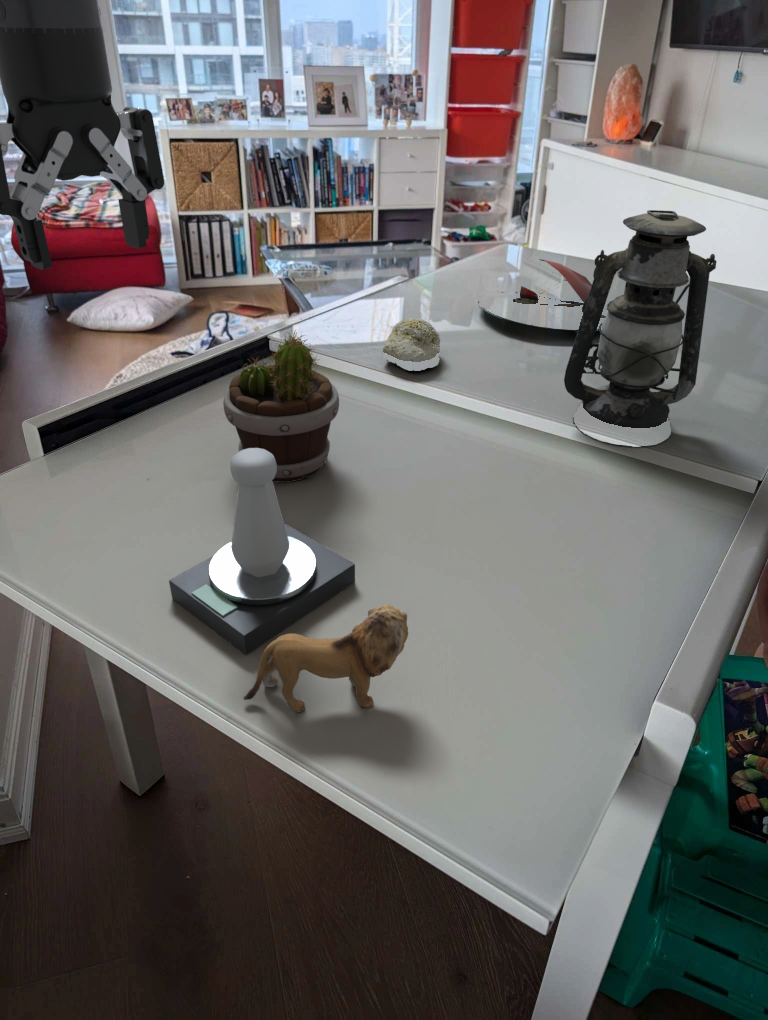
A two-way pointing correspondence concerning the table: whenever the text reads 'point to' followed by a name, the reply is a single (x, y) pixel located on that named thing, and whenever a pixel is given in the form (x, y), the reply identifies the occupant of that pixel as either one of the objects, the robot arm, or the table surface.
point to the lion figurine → (336, 655)
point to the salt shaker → (257, 514)
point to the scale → (261, 621)
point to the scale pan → (264, 589)
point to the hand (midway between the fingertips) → (90, 256)
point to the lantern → (642, 323)
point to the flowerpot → (284, 410)
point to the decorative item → (413, 341)
